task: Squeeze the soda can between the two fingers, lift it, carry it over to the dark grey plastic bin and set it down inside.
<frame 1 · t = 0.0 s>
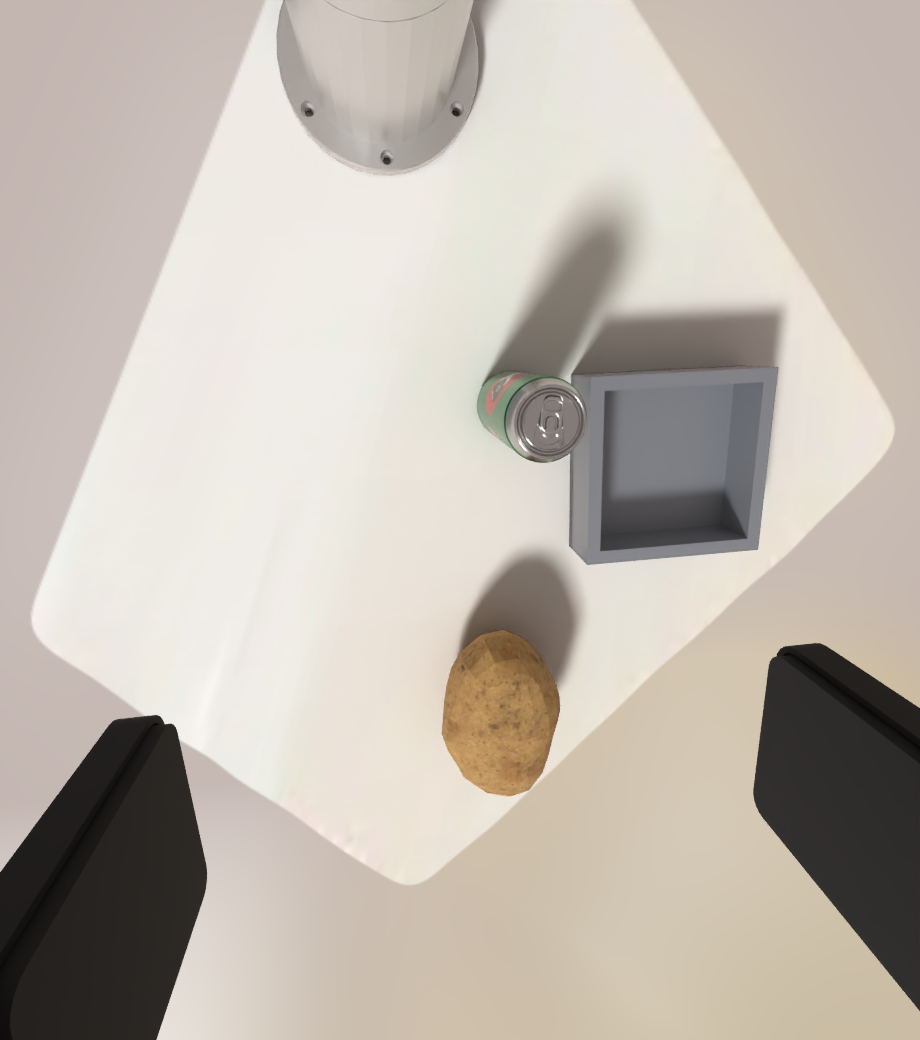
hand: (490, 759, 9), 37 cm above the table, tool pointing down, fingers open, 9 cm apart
bin: (653, 458, 47), on the table
potato: (490, 678, 51), on the table
soda can: (507, 404, 44), on the table
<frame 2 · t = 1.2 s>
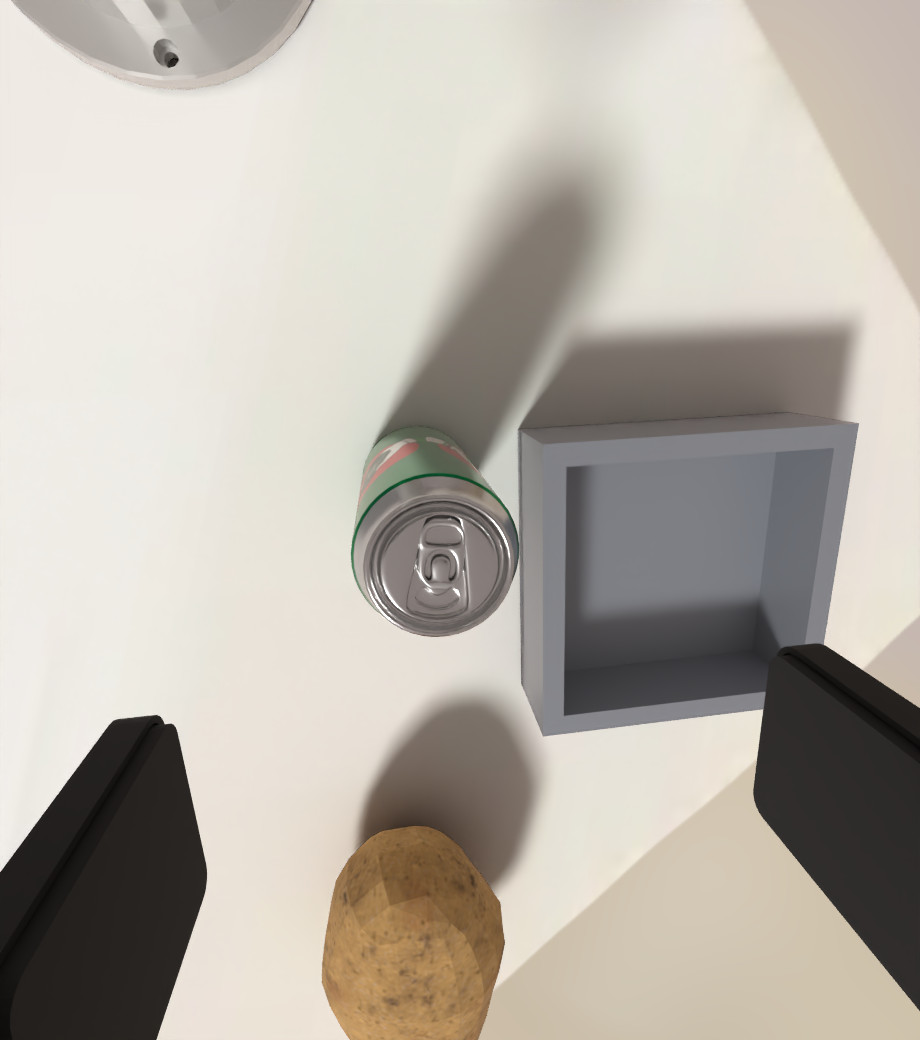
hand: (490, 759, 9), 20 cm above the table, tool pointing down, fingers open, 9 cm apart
bin: (649, 553, 30), on the table
potato: (409, 867, 35), on the table
soda can: (416, 476, 28), on the table
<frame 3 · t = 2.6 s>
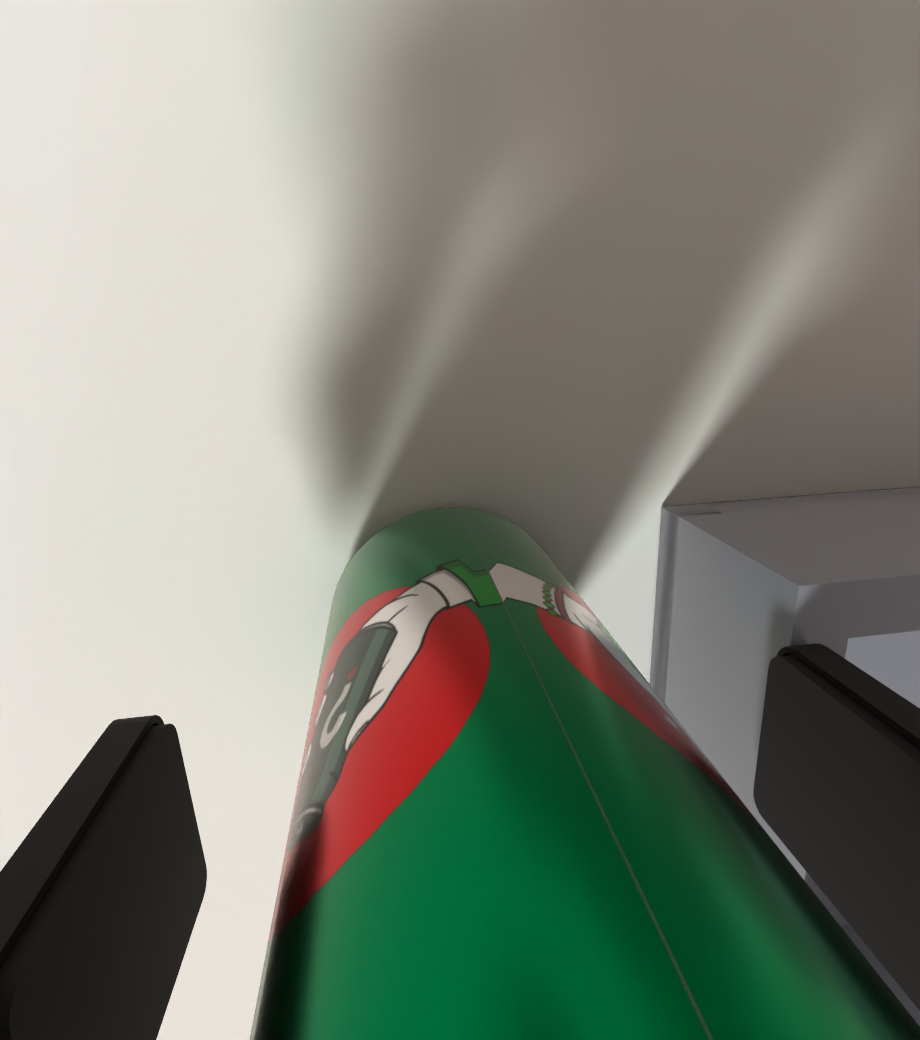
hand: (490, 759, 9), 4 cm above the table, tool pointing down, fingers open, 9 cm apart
bin: (885, 731, 16), on the table
soda can: (445, 603, 13), on the table
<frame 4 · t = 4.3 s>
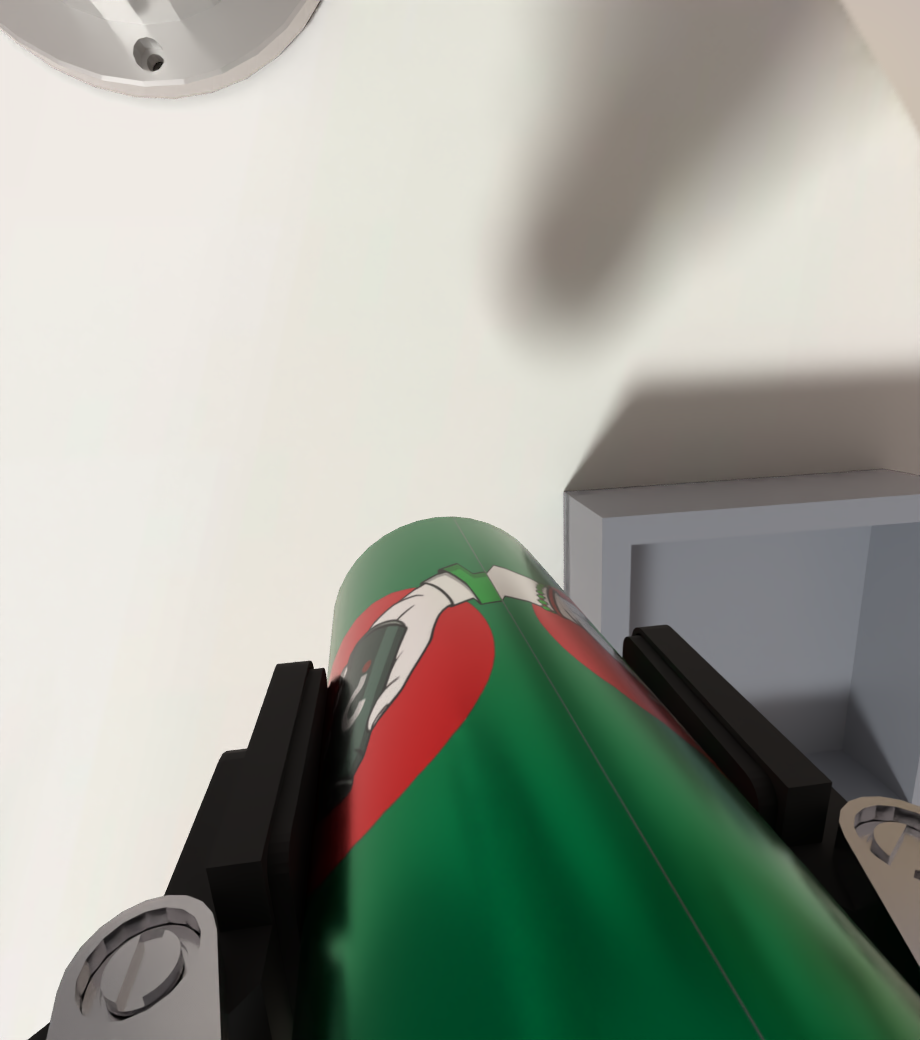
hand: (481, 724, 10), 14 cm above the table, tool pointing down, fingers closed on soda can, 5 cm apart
bin: (718, 635, 25), on the table
soda can: (440, 607, 14), point 9 cm above the table, touching gripper
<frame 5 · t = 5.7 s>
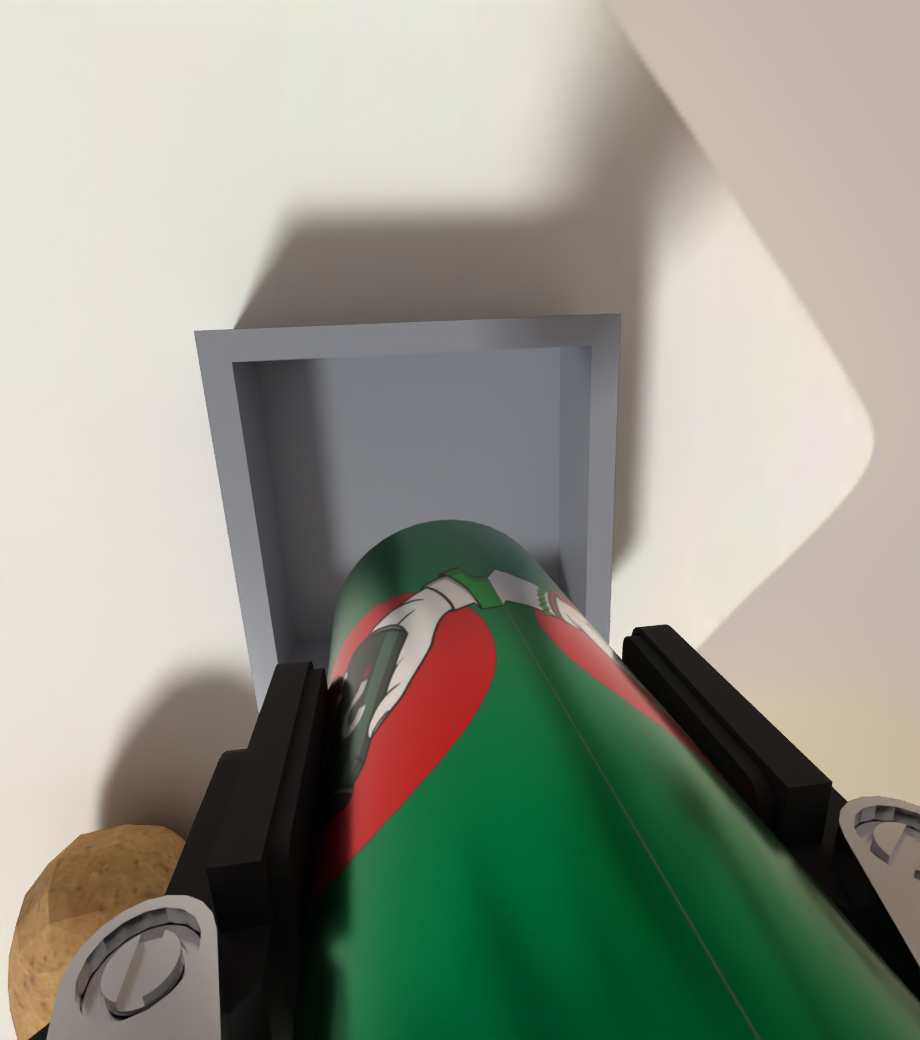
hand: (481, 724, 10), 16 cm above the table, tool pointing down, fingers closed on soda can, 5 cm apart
bin: (420, 495, 25), on the table
potato: (170, 874, 29), on the table
soda can: (440, 610, 14), point 12 cm above the table, touching gripper
when the fingers open (6 cm above the table, at t = 7.5 s): soda can stays where it is, resting on bin.
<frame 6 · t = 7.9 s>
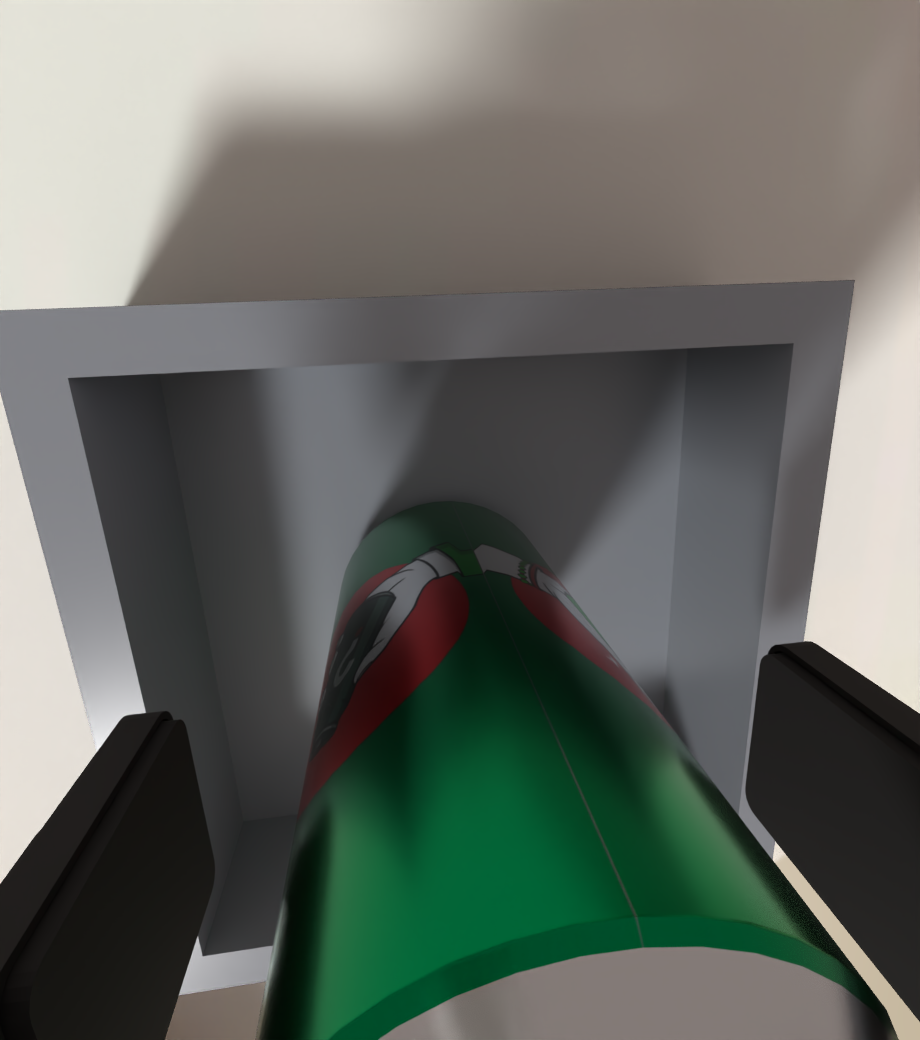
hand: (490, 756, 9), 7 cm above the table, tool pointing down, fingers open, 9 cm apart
bin: (446, 588, 15), on the table
soda can: (442, 588, 15), point 1 cm above the table, touching bin
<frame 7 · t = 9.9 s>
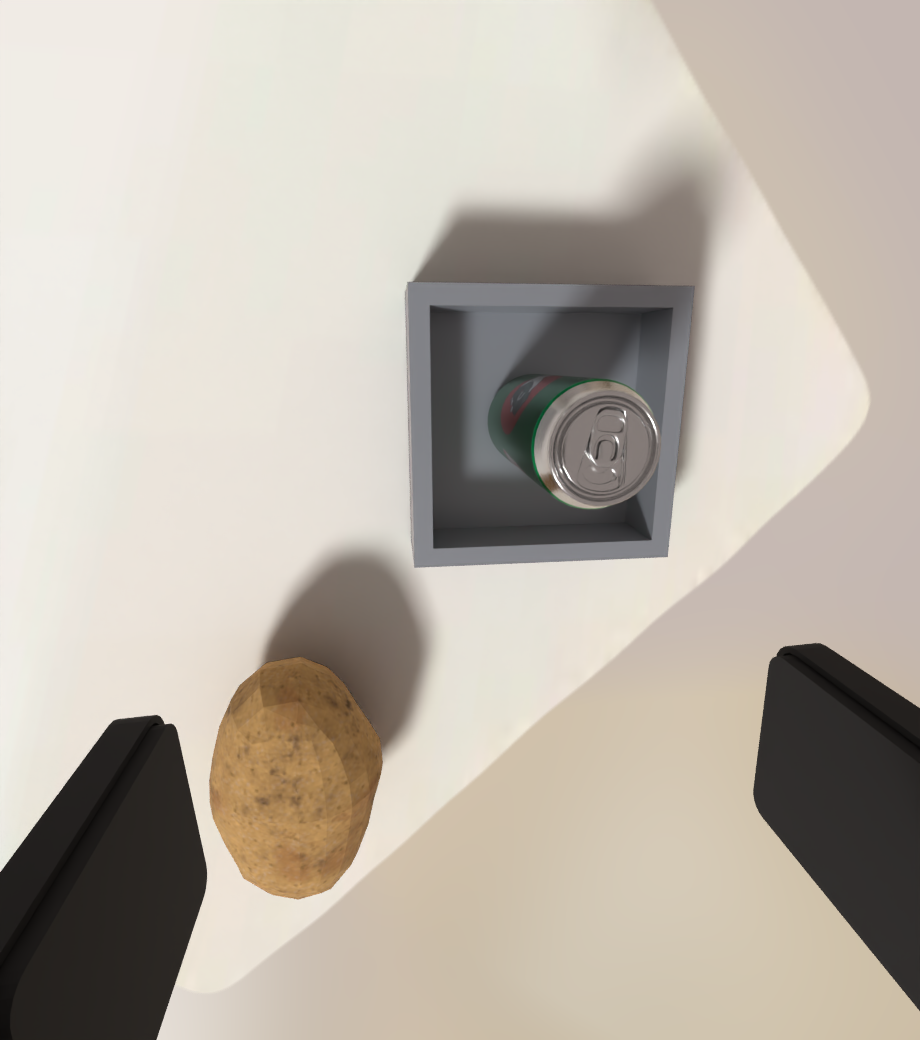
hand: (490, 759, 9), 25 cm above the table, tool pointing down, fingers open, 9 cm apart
bin: (528, 422, 33), on the table
potato: (307, 721, 37), on the table
soda can: (528, 419, 33), point 1 cm above the table, touching bin
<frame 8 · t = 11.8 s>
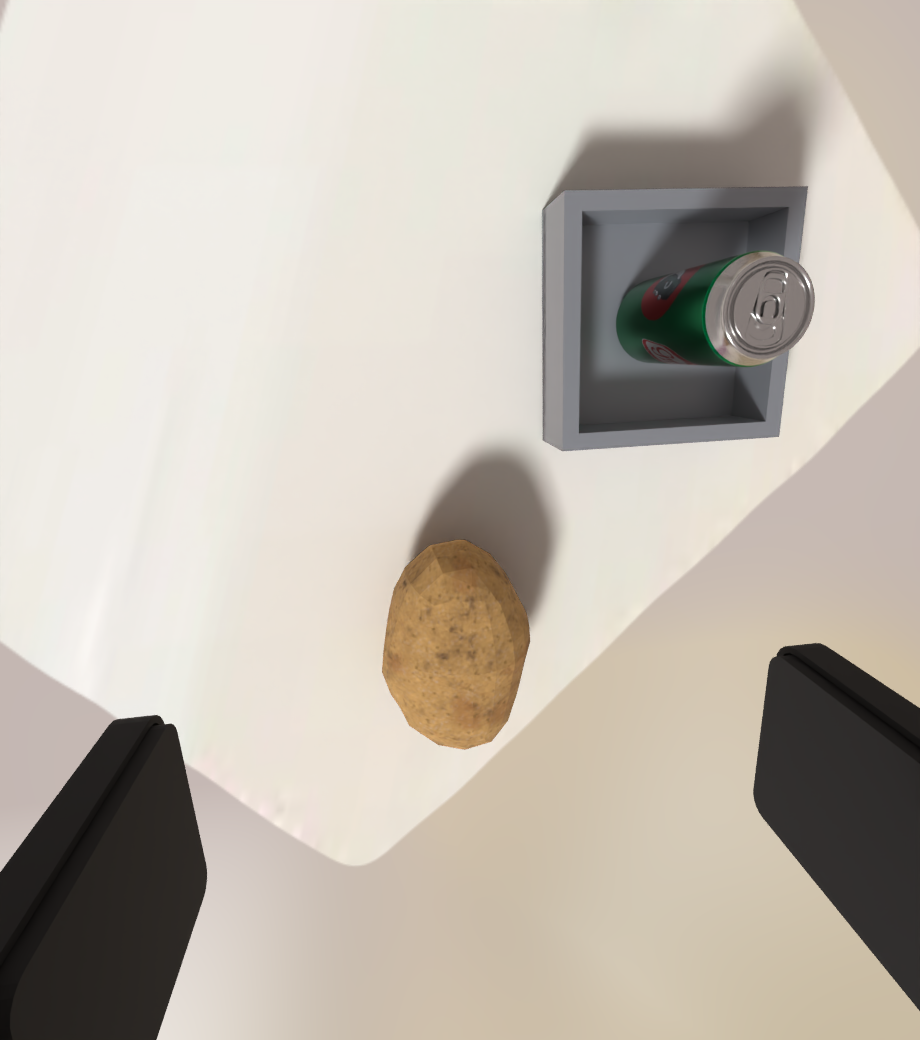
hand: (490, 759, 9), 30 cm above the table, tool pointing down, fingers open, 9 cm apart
bin: (646, 327, 38), on the table
potato: (448, 610, 42), on the table
soda can: (648, 322, 37), point 1 cm above the table, touching bin
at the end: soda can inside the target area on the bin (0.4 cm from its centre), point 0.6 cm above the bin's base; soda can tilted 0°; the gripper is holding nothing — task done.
